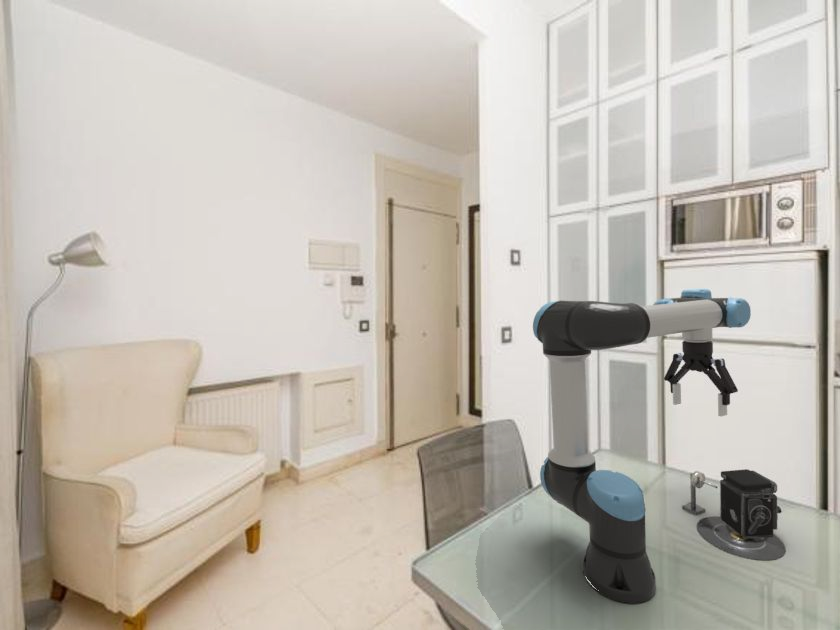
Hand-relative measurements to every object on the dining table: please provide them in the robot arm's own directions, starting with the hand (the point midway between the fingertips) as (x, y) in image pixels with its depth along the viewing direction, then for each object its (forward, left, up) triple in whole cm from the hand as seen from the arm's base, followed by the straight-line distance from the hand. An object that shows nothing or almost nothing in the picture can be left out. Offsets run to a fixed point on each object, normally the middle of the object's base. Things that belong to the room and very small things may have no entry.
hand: (698, 409), depth 121 cm
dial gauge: (-8, -6, -28) cm, 30 cm away
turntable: (-10, -16, -28) cm, 34 cm away
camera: (-5, -16, -28) cm, 33 cm away
